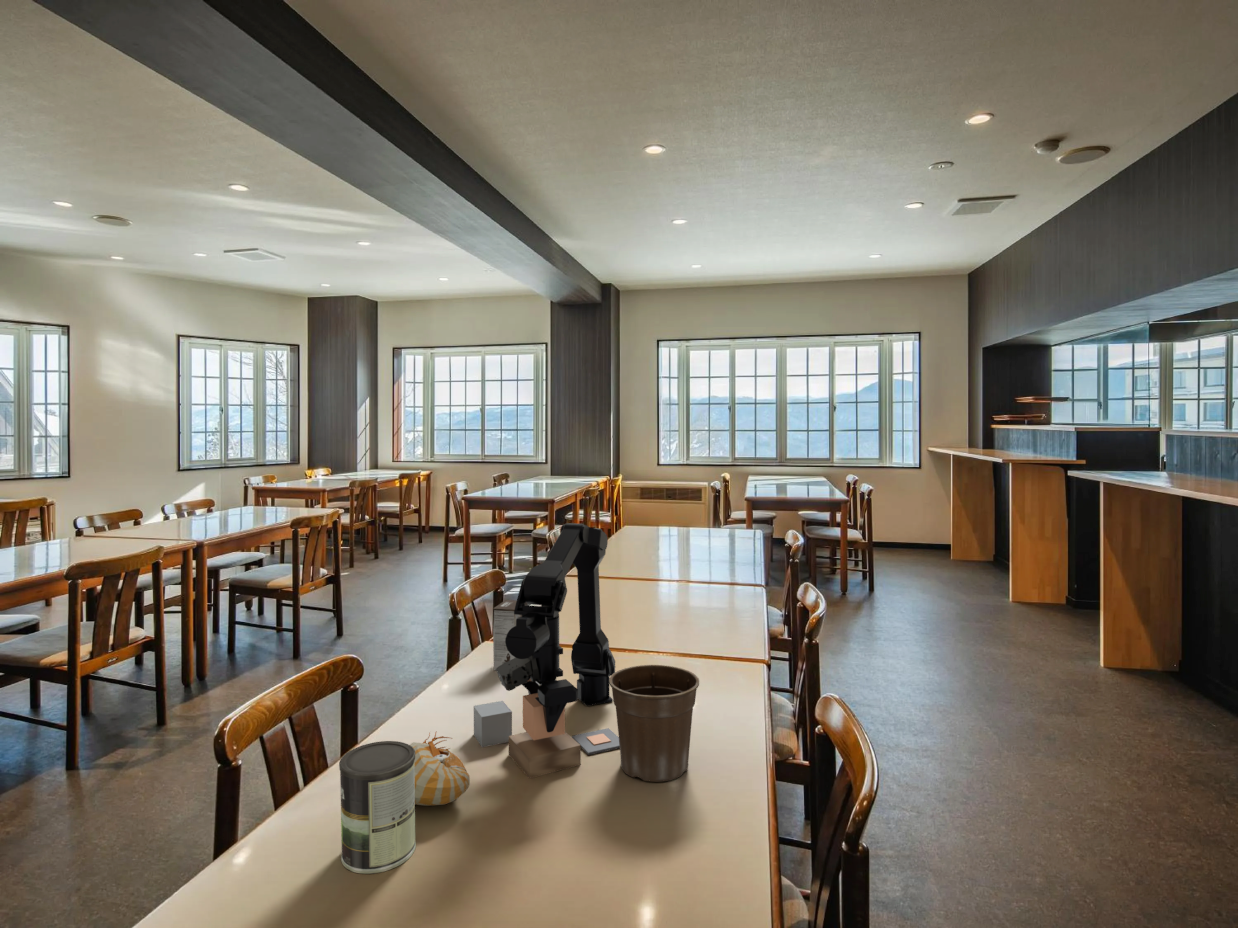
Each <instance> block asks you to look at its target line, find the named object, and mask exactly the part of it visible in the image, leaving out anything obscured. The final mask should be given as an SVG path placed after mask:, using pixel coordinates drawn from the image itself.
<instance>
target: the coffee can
mask: <svg viewBox="0 0 1238 928" xmlns="http://www.w3.org/2000/svg"><path fill="white" fill-rule="evenodd" d="M414 760H415V750H414V748H413V747H412V746H410V744H409V743H406V742H402V741H395V740H382V741H375V742H369V743H365V744H363V745H360V746H357V747H354V748H353V749H351V750H349V751H348V752H346V753H345V754H344V755H342V757H341V758H340V760H339V762H338V763H339V765H338V767H339V771H340V773H339V777H340V781H339V782H340V815H341V816H340V822H341V823H340V824H341V825H340V827H341V831H340V832H341V836H340V838H341V855H340V861H341V863H342V866H344V868H345V869H347V870H348V871H350V872H352V873H355V874H360V875H361V874H362V875H371V874H378V873H384V872H388V871H391V870H392V869H394V868H397V867H399V866H401V865H403V863H405V862H407V861H408V860H409V859H410V858H411V857H412V856H413V854H414V853H415V850H416V848H417V845H416V844H417V843H416V842H417V841H416V812H415V811H416V809H415V808H416V807H415V805H416V804H415V774H414Z"/></svg>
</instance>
